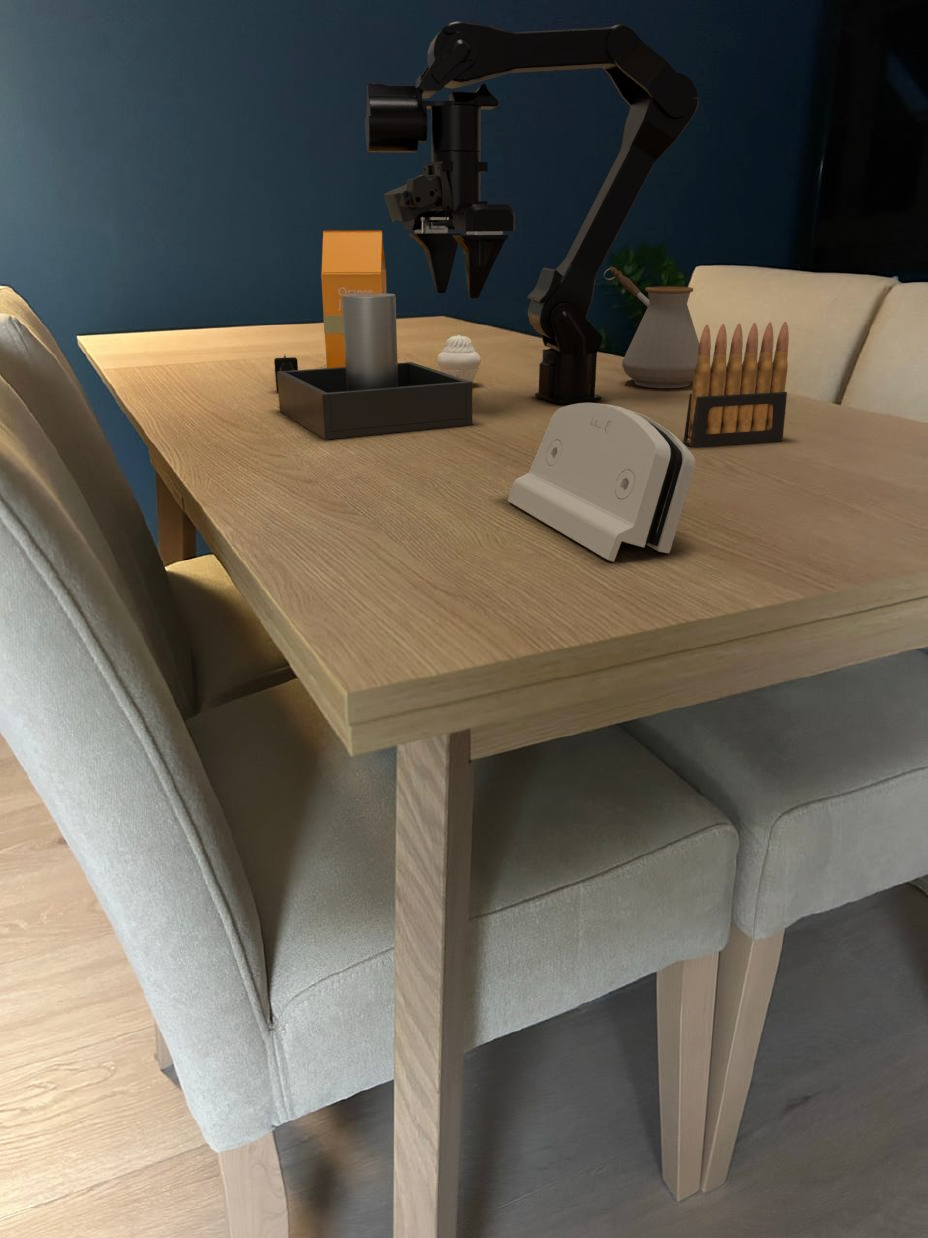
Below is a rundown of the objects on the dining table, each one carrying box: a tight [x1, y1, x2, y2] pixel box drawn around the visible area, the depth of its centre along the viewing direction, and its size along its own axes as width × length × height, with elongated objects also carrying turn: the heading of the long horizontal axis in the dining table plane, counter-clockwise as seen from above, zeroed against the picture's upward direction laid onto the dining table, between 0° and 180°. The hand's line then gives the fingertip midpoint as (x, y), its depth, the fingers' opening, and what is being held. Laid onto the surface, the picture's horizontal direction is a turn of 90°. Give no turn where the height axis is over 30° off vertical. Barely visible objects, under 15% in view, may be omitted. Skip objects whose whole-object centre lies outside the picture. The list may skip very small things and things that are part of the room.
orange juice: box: [320, 229, 387, 368], centre depth 140 cm, size 8×9×20 cm
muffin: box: [436, 333, 482, 383], centre depth 130 cm, size 6×6×7 cm
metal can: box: [342, 293, 399, 391], centre depth 108 cm, size 6×6×13 cm
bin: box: [277, 361, 474, 441], centre depth 110 cm, size 18×18×5 cm
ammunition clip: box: [682, 321, 790, 448], centre depth 96 cm, size 11×2×12 cm, turn 105°
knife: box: [273, 354, 299, 392], centre depth 129 cm, size 31×3×4 cm, turn 8°
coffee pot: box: [603, 265, 700, 389], centre depth 133 cm, size 21×12×15 cm, turn 24°
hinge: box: [507, 402, 696, 563], centre depth 71 cm, size 17×5×10 cm, turn 23°
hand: (457, 295), depth 114 cm, fingers open, 9 cm apart
